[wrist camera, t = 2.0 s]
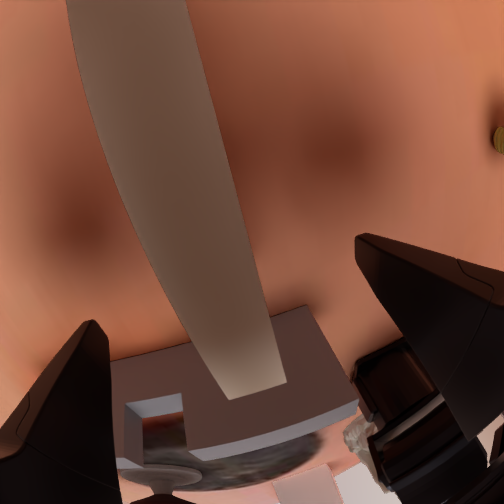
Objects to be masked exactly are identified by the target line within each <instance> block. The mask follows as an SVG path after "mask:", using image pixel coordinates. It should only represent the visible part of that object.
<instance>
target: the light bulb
mask: <svg viewBox="0 0 504 504" xmlns="http://www.w3.org/2000/svg"><path fill="white" fill-rule="evenodd" d="M493 140H494V145H495V148H496V150H497V151H498V152H499V153H501V154H504V128H503V127H498V128H497V130H496V131H495V134H494V135H493Z"/></svg>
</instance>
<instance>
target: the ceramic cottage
mask: <svg viewBox="0 0 504 504" xmlns="http://www.w3.org/2000/svg"><path fill="white" fill-rule="evenodd" d="M441 403H442V402H441ZM436 407H437V406H436ZM436 407H435V408H436ZM431 411H432V410H431ZM431 411H430V412H431ZM426 415H427V414H426ZM422 418H423V417H422ZM418 421H419V420H418ZM414 424H415V423H414ZM410 427H411V426H410ZM407 429H408V428H407ZM404 431H405V430H404ZM377 432H378V429H377V427H376V425H375V423H374V422H371V423H368V422H367V421H366V419H365V417H364V415H363V414H361V415H360V416H359V417H357V418H356V419H355V420H354V421H353V422H352V423H350V424H349V425H348V427H346V428H345V430H344V432H343V434H344V441H345V444H346V445H347V446H348V447H349V450H350V452H352V453H353V452H355V453H356V455H357V456H358V458H359V459H360V460H361V462H362V463H363V464H364V465H366V466H367V467H368V469H369V471H370V473H371V474H372V476H373V479H374V480H375V482H376V483H377V484H378V485H379V486H380V487H381V489H382V490H383V492H384V493H388V492H391V491H389V490H388V489H387V488H386V487H385V486H384V484H382V483H379V481H378V478H377V472H376V469H375V466H374V463H373V460H372V457H371V454H370V451H369V448H368V443H367V437H369V436H370V435H374V434H375V433H377ZM389 441H390V440H389ZM395 494H396V493H395ZM396 495H397V494H396ZM398 499H399V497H398ZM399 500H400V499H399Z"/></svg>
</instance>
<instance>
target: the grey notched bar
mask: <svg viewBox="0 0 504 504" xmlns="http://www.w3.org/2000/svg"><path fill="white" fill-rule="evenodd" d="M270 320H271V324H272V328H273V332H274V335H275V339H276V343H277V347H278V351H279V354H280V358H281V362H282V366H283V369H284V373H285V377H286V381H287V382H286V383H284V384H281V385H278V386H275V387H272V388H269V389H265V390H262V391H259V392H256V393H252V394H249V395H246V396H242V397H239V398H235V399H231V400H228V398H227V397H226V395H225V394H224V392H223V391H222V389H221V388H220V386H219V384H218V383H217V381H216V380H215V378H214V377H213V375H212V374H211V372H210V370H209V369H208V367H207V366H206V364H205V362H204V361H203V359H202V357H201V356H200V354H199V352H198V351H197V349H196V347H195V346H194V344H193V342H189V343H185V344H182V345H178V346H174V347H170V348H167V349H163V350H159V351H155V352H151V353H147V354H143V355H139V356H134V357H130V358H126V359H121V360H117V361H112V362H110V366H111V378H112V415H113V433H114V445H115V456H116V465H117V469H133V468H144V460H143V439H142V418H146V417H153V416H159V415H164V414H170V413H175V412H180V411H183V415H184V424H185V432H186V440H187V448H188V451H189V452H190V453H192V454H193V455H195V456H196V457H198V458H199V459H201V460H202V461H207V460H213V459H218V458H223V457H228V456H233V455H237V454H241V453H245V452H249V451H253V450H257V449H261V448H264V447H268V446H271V445H275V444H278V443H281V442H285V441H288V440H291V439H294V438H297V437H300V436H303V435H305V434H308V433H311V432H314V431H316V430H319V429H321V428H324V427H327V426H329V425H331V424H334V423H336V422H339V421H341V420H343V419H346V418H348V417H350V416H352V415H355V414H356V411H357V407H358V402H359V397H358V395H357V393H356V391H355V390H354V388H353V386H352V384H351V382H350V380H349V379H348V377H347V375H346V373H345V371H344V370H343V368H342V366H341V364H340V363H339V361H338V359H337V357H336V355H335V354H334V352H333V350H332V348H331V347H330V345H329V343H328V341H327V340H326V338H325V336H324V334H323V332H322V331H321V329H320V327H319V325H318V324H317V322H316V320H315V318H314V317H313V315H312V313H311V312H310V310H309V308H308V306H307V305H305V306H302V307H299V308H296V309H294V310H291V311H288V312H285V313H282V314H279V315H276V316H273V317H270Z"/></svg>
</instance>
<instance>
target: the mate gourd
mask: <svg viewBox="0 0 504 504" xmlns="http://www.w3.org/2000/svg"><path fill="white" fill-rule="evenodd" d="M120 475H121V476H122V477H123V478H125V479H127V480H129V481H132V482H135V483H140V484H145V485H150V487H151V489H152V491H153V492H154V495H152V496H150V497H147V498H144V499H141V500H137V501H134V502H131V503H130V504H195V503H192V502H189V501H186V500H183V499H180V498H178V497H175V496H173V495H172V492H173V489H174V486H181V485H188V484H192V483H195V482H198V481H200V480H201V479H202V474H201V472H200V471H198V470H196V469H193V468H188V467H182V466H174V465H161V464H144V468H133V469H120Z"/></svg>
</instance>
